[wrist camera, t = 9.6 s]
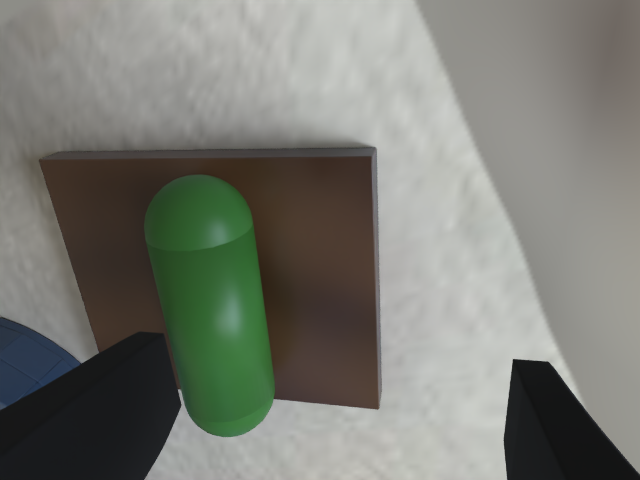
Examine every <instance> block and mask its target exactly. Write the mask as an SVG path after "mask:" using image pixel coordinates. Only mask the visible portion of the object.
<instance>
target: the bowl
mask: <svg viewBox="0 0 640 480" xmlns="http://www.w3.org/2000/svg"><path fill="white" fill-rule="evenodd" d="M80 364H81V363H80V362H78V361H77V360H76V359H75V358H74V357H73V356H71V355H70V354H69V353H68V352H66V351H65V350H63V349H62V348H61V347H59V346H58V345H56V344H55V343H54V342H52V341H50V340H49V339H47V338H45V337H44V336H42V335H40V334H38V333H37V332H35V331H33V330H31V329H28V328H26V327H24V326H22V325H20V324H17V323H15V322H12V321H9V320H6V319H4V318H0V410H1V409H3V408H5V407H7V406H9V405H10V404H12V403H14V402H16V401H18V400H20V399H21V398H23V397H25V396H27V395H29V394H30V393H32V392H34V391H36V390H38V389H39V388H41V387H43V386H45V385H46V384H48V383H50V382H51V381H53V380H55V379H57V378H58V377H60V376H62V375H63V374H65V373H67V372H68V371H70V370H72V369H73V368H75V367H77V366H79V365H80Z"/></svg>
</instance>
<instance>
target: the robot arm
mask: <svg viewBox="0 0 640 480" xmlns="http://www.w3.org/2000/svg"><path fill="white" fill-rule="evenodd" d="M180 408H181V401H180V397H179V393H178V389H177V385H176V381H175V377H174V372H173V368H172V364H171V360H170V356H169V352H168V348H167V344H166V339H165V335H164V333H155V332H142V331H139V332H137V333H135V334H133V335H131V336H129V337H127V338H125V339H123V340H121V341H120V342H118V343H116V344H114V345H112V346H111V347H109V348H107V349H106V350H104V351H102V352H100V353H99V354H97V355H95V356H94V357H92V358H90V359H89V360H87V361H85V362H84V363H82V364H80V365H79V366H77V367H75V368H73V369H72V370H70V371H68V372H67V373H65V374H63V375H62V376H60V377H58V378H57V379H55V380H53V381H51V382H50V383H48V384H46V385H45V386H43V387H41V388H39V389H38V390H36V391H34V392H32V393H30V394H29V395H27V396H25V397H23V398H21V399H20V400H18V401H16V402H14V403H12V404H10V405H9V406H7V407H5V408H3V409H1V410H0V480H144V479H145V477H146V476H147V474H148V472H149V471H150V469H151V467H152V466H153V464H154V462H155V461H156V459H157V457H158V455H159V454H160V452H161V450H162V449H163V446H164V444H165V442H166V440H167V438H168V436H169V433H170V431H171V429H172V427H173V424H174V422H175V420H176V417H177V415H178V412H179V410H180ZM504 449H505V461H506V471H507V480H640V474H639V473H638V472H637V471H636V470H635V469H634V468H633V466H632V465H631V464H630V463H629V462H628V461H627V460H626V459H625V457H624V456H623V455H622V454H621V452H620V451H619V450H618V449H617V448H616V447H615V445H614V444H613V443H612V442H611V441H610V439H609V438H608V437H607V436H606V435H605V434H604V432H603V431H602V430H601V429H600V428H599V426H598V425H597V424H596V422H595V421H594V420H593V419H592V417H591V416H590V415H589V414H588V412H587V411H586V410H585V409H584V407H583V406H582V405H581V403H580V402H579V401H578V400H577V398H576V397H575V396H574V394H573V393H572V392H571V390H570V389H569V388H568V386H567V385H566V384H565V382H564V381H563V379H562V378H561V377H560V375H559V374H558V373H557V371H556V370H555V369H554V367H553V366H552V365H551V364H550V363H549V362H545V361H532V360H518V359H513V364H512V372H511V381H510V390H509V398H508V407H507V416H506V424H505V433H504Z"/></svg>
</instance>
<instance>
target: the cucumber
mask: <svg viewBox="0 0 640 480" xmlns="http://www.w3.org/2000/svg"><path fill="white" fill-rule="evenodd" d="M144 232H145V240H146V244H147V248H148V253H149V257H150V261H151V265H152V269H153V274H154V278H155V282H156V286H157V290H158V295H159V299H160V303H161V307H162V311H163V316H164V320H165V324H166V328H167V332H168V337H169V341H170V345H171V349H172V353H173V358H174V362H175V366H176V370H177V374H178V379H179V383H180V387H181V391H182V395H183V400H184V404H185V407H186V409H187V412H188V414H189V416H190V417H191V419H192V420H193V421H194V422H195V424H196V425H197V426H198V427H200V428H201V429H203V430H204V431H206V432H207V433H210V434H212V435H216V436H221V437H233V436H238V435H242V434H244V433H246V432H249V431H250V430H252V429H253V428H255V427H256V426H257V425H258V424H259V423H260V422H261V421H263V419H264V418H265V417H266V415H267V413H268V412H269V410H270V408H271V406H272V403H273V399H274V394H275V380H274V372H273V365H272V358H271V350H270V343H269V336H268V328H267V321H266V314H265V306H264V299H263V291H262V284H261V277H260V269H259V262H258V255H257V247H256V240H255V233H254V225H253V219H252V215H251V211H250V208H249V206H248V204H247V202H246V201H245V199H244V198H243V196H242V195H241V194H240V193H239V191H238V190H236V189H235V188H234V187H233V186H232V185H230V184H229V183H227V182H225V181H223V180H222V179H220V178H217V177H213V176H209V175H188V176H184V177H180V178H177V179H175V180H173V181H171V182H170V183H168V184H167V185H165V186H164V187H163V188H162V189H161V190H160V191H159V192H158V193H157V194H156V195H155V196H154V198H153V199H152V201H151V203H150V204H149V206H148V209H147V212H146V215H145V222H144Z"/></svg>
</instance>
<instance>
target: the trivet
mask: <svg viewBox="0 0 640 480" xmlns="http://www.w3.org/2000/svg"><path fill="white" fill-rule="evenodd" d="M39 162H40V165H41V169H42V172H43V175H44V178H45V181H46V185H47V188H48V191H49V194H50V197H51V200H52V204H53V207H54V210H55V213H56V216H57V220H58V223H59V226H60V229H61V232H62V236H63V239H64V242H65V245H66V248H67V251H68V255H69V258H70V261H71V264H72V267H73V271H74V274H75V277H76V280H77V283H78V287H79V290H80V293H81V296H82V299H83V302H84V306H85V309H86V312H87V315H88V318H89V322H90V325H91V328H92V331H93V334H94V338H95V341H96V344H97V347H98V350H99V353H100V352H102V351H104V350H106V349H107V348H109V347H111V346H112V345H114V344H116V343H118V342H120V341H121V340H123V339H125V338H127V337H129V336H131V335H133V334H135V333H137V332H139V331H142V332H155V333H164V335H165V339H166V344H167V348H168V352H169V356H170V360H171V364H172V368H173V372H174V377H175V381H176V385H177V389H181V387H180V383H179V379H178V374H177V370H176V366H175V362H174V358H173V353H172V349H171V345H170V341H169V337H168V332H167V328H166V324H165V320H164V316H163V311H162V307H161V303H160V299H159V295H158V290H157V286H156V282H155V278H154V274H153V269H152V265H151V261H150V257H149V253H148V248H147V244H146V240H145V232H144V222H145V215H146V212H147V209H148V206H149V204H150V203H151V201H152V199H153V198H154V196H155V195H156V194H157V193H158V192H159V191H160V190H161V189H162V188H163V187H164V186H165V185H167V184H168V183H170V182H171V181H173V180H175V179H177V178H180V177H184V176H188V175H209V176H213V177H217V178H220V179H222V180H223V181H225V182H227V183H229V184H230V185H232V186H233V187H234V188H235V189H236V190H238V191H239V193H240V194H241V195H242V196H243V198H244V199H245V201H246V202H247V204H248V206H249V208H250V211H251V215H252V219H253V225H254V233H255V240H256V247H257V255H258V262H259V269H260V277H261V284H262V291H263V299H264V306H265V314H266V321H267V328H268V336H269V343H270V350H271V358H272V365H273V372H274V380H275V394H274V399H280V400H290V401H300V402H309V403H319V404H329V405H339V406H349V407H359V408H369V409H379V406H380V399H381V392H382V378H381V332H380V286H379V240H378V194H377V149H376V148H375V147H371V148H299V149H228V150H156V151H85V152H57V153H55V154H52V155H50V156H47V157H45V158H42V159H40V160H39Z"/></svg>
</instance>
